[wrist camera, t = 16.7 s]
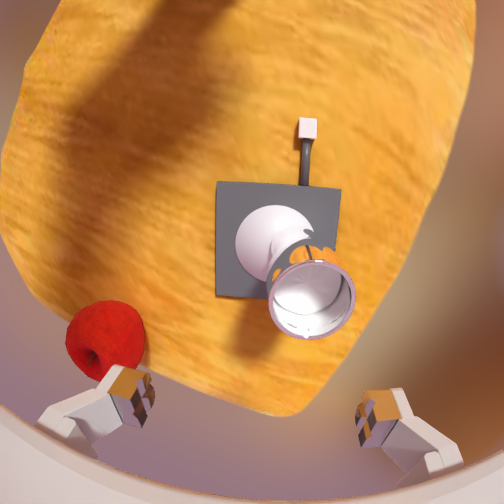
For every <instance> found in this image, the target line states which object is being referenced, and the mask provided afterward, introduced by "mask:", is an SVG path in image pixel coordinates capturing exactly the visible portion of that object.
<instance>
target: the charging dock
mask: <svg viewBox="0 0 504 504" xmlns="http://www.w3.org/2000/svg"><path fill="white" fill-rule="evenodd" d="M316 132H317V119H312V118H301V117H300V118H299V130H298V138H300V139H303V141H302V162H301V179H300V185H289V184H273V183H255V182H230V181H218V182H217V199H216V295H224V296H235V297H247V298H260V299H268V297H267V290H266V277H267V270H268V266H269V263H270V261H271V258H272V255H271V243H272V240H273V238H274V236H275V234H276V233H277V232H278V231H279V230H280V229H282V228H283V227H285V226H288V225H292V224H299V225H304V226H306V227H308V228H310V229H311V230H312V231H313V232H314V233H315V234H316V236H317V238H318V240H319V241H320V242H322V243H324V244H325V245H327V246H328V247H330V248H331V249H332V250H333V251H334V252H335V245H336V237H337V229H338V220H339V210H340V199H341V189H335V188H325V187H314V186H308V184H309V168H310V149H311V140H315V139H316Z"/></svg>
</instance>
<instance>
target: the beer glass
mask: <svg viewBox="0 0 504 504" xmlns="http://www.w3.org/2000/svg"><path fill="white" fill-rule="evenodd" d="M271 255H272V258H271V261H270V263H269V266H268V270H267V277H266V290H267V297H268V303H269V312H270V315H271V318H272V320H273V321H274V323H275V324H276V326H277V327H278V328H279V329H280V330H281V331H283V332H284V333H285V334H287V335H289V336H291V337H294V338H297V339H303V340H315V339H320V338H324V337H326V336H329V335H331V334H333V333H334V332H336V331H337V330H339V329H340V328H341V327H342V326H343V325H344V324H345V323H346V322H347V321H348V319H349V318H350V316H351V314H352V312H353V310H354V307H355V302H356V291H355V286H354V283H353V281H352V279H351V277H350V276H349V274H348V272H347V270H346V268H345V266H344V264H343V263H342V261H341V260H340V258H339V257H338V256H337V255H336V253H335V252H334V251H333V250H332V249H331V248H330V247H328V246H327V245H325V244H324V243H322V242H320V241H319V240H318V238H317V236H316V234H315V233H314V232H313V231H312V230H311V229H310V228H308V227H306V226H304V225H299V224H292V225H288V226H285V227H283V228H282V229H280V230H279V231H278V232H277V233H276V234H275V236H274V238H273V240H272V243H271Z"/></svg>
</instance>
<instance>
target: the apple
mask: <svg viewBox="0 0 504 504" xmlns="http://www.w3.org/2000/svg"><path fill="white" fill-rule="evenodd" d="M144 342H145V336H144V329H143V324H142V320H141V317H140V315H139V314H138V312H137V311H136V310H135V309H134V308H133V307H131V306H130V305H128V304H125V303H123V302H120V301H113V300H110V301H100V302H97V303H94V304H92V305H90V306H87V307H85V308H83V309H82V310H80V311H79V312H78V313H77V314H76V315H75V317H74V318H73V320H72V321H71V323H70V324H69V326H68V328H67V334H66V342H65V344H66V348H67V351H68V354H69V355H70V357H71V358H72V360H73V361H74V363H75V364H76V365H77V366H78V367H79V368H80V369H81V370H82V371H83V372H84V373H85V374H86V375H87V376H88V377H90V378H92V379H94V380H97V381H99V382H101V381H102V379H103V378H104V377H105V375H106V374H107V372H108V371H109V370H110V368H111V367H112V366H113V365H115V364H117V365H121V366H124V367H128V368H132V369H136V368H137V366H138V364H139V363H140V361H141V359H142V355H143V352H144Z"/></svg>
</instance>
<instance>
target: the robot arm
mask: <svg viewBox="0 0 504 504" xmlns="http://www.w3.org/2000/svg"><path fill="white" fill-rule="evenodd" d="M150 382H151V376H150V374H149V373H147V372H143V371H138V370H135V369H132V368H128V367H124V366H121V365H117V364H115V365H113V366H112V367H111V368H110V370H109V371H108V372H107V374H106V375H105V377H104V378H103V379H102V381H101V382H100V383H99V385H98V386H97V388H96V389H94V388H92V389H90V390H87V391H85V392H83V393H80V394H78V395H76V396H73V397H71V398H68V399H66V400H64V401H61V402H59V403H56V404H54V405H51V406H49V407H48V408H47V409H46V411H45V412H44V413H43V414H42V416H41V417H40V418H39V420H38V421H37V422H36V424H35V425H34V426H32V425H31V424H29V423H28V422H26V421H25V420H23V419H22V418H20V417H19V416H18V415H16V414H15V413H13V412H12V411H11V410H9V409H8V408H7V407H5V406H4V405H3V404H1V403H0V504H504V449H503V450H501V451H499V452H497V453H495V454H493V455H491V456H489V457H487V458H485V459H483V460H481V461H478V462H476V463H474V464H472V465H469V466H467V467H465V464H464V462H463V459H462V457H461V454H460V452H459V450H458V447H457V445H456V443H454V442H453V441H451V440H450V439H448V438H447V437H445V436H444V435H442V434H441V433H440V432H438V431H437V430H436V429H434V428H433V427H431V426H430V425H429V424H427V423H426V422H424V421H423V420H422V419H420V418H419V417H414V415H413V413H412V410H411V408H410V406H409V403H408V401H407V398H406V396H405V394H404V391H403V389H402V388H393V389H382V390H370V391H365V392H364V393H363V395H362V401H363V402H361V403H360V404H359V405H358V407H357V409H356V414H355V422H356V427H357V428H359V429H360V430H361V431H360V433H359V435H358V437H359V442H360V446H361V448H370V447H379V446H381V448H382V450H383V451H385V453H386V454H387V455H388V456H389V457H390V458H391V459H392V460H393V461H394V462H395V463H396V464H397V465H398V466H399V467H400V469H402V471H404V472H405V474H406V475H405V476H404V477H403V478H402V479H401V480H400V481H399V482H398V483H397V485H396V486H397V489H395V490H390V491H385V492H380V493H374V494H368V495H362V496H356V497H347V498H338V499H326V500H307V501H306V500H305V501H279V500H278V501H277V500H258V499H246V498H236V497H228V496H221V495H215V494H208V493H203V492H198V491H192V490H188V489H183V488H179V487H175V486H171V485H167V484H164V483H160V482H157V481H153V480H150V479H147V478H143V477H140V476H137V475H134V474H131V473H129V472H126V471H123V470H120V469H118V468H115V467H112V466H110V465H108V464H105V463H103V462H100V461H98V460H96V459H97V457H98V455H97V453H96V451H95V450H94V448H93V447H92V446H91V445H92V444H93V443H95V442H96V441H98V440H99V439H101V438H103V437H104V436H106V435H107V434H109V433H110V432H112V431H113V430H115V429H116V428H118V427H119V426H121V425H122V424H123V423H124V424H128V425H131V426H135V427H139V428H142V427H143V425H144V423H145V421H146V418H147V414H146V411H148V410H150V409H151V408H152V406H153V404H154V399H155V391H154V387H153V386H152V385H151V384H150Z"/></svg>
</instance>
